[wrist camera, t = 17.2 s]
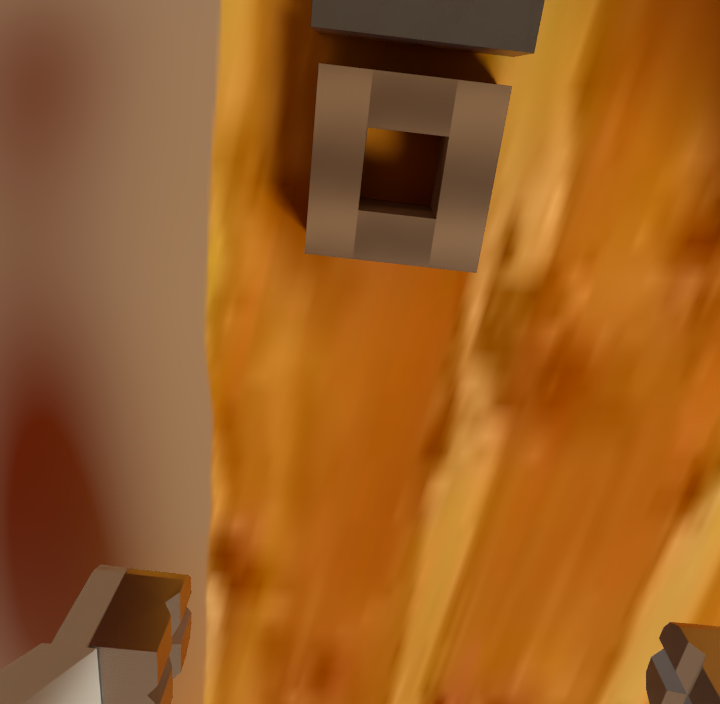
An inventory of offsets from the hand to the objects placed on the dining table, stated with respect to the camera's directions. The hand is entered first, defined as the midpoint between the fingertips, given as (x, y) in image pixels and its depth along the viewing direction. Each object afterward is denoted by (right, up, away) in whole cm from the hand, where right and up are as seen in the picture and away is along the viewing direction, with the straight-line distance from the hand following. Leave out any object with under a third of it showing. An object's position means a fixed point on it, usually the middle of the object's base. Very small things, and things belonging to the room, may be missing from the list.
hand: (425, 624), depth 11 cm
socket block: (+1, +16, +27) cm, 31 cm away
